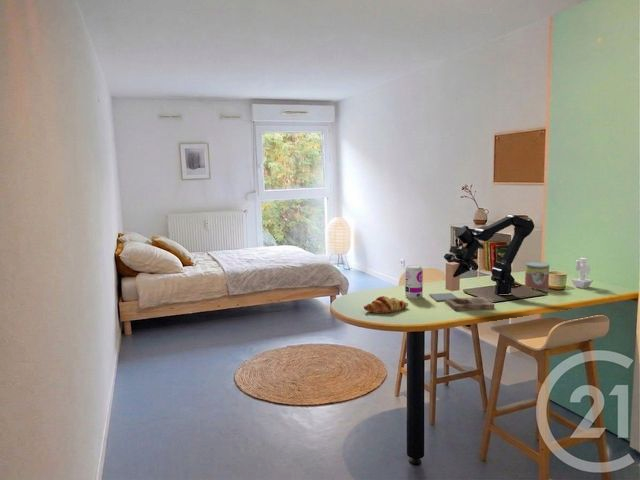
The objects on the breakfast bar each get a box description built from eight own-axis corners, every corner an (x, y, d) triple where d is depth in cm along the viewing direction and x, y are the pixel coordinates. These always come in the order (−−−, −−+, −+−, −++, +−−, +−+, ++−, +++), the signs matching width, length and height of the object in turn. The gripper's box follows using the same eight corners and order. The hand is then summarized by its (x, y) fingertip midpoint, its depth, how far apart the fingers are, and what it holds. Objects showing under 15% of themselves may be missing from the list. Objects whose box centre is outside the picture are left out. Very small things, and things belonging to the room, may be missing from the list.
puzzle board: (482, 301, 229) (482, 296, 229) (494, 308, 217) (494, 304, 216) (444, 302, 227) (445, 298, 227) (454, 310, 215) (454, 306, 215)
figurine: (594, 287, 250) (596, 258, 248) (582, 289, 246) (584, 260, 244) (581, 284, 256) (582, 256, 254) (569, 286, 252) (570, 257, 250)
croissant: (404, 313, 224) (401, 296, 227) (414, 308, 215) (410, 291, 218) (361, 318, 218) (358, 300, 220) (370, 313, 209) (366, 295, 211)
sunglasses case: (524, 285, 255) (518, 275, 254) (513, 293, 255) (507, 283, 253) (504, 278, 273) (499, 268, 271) (494, 285, 272) (488, 275, 270)
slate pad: (450, 294, 242) (450, 292, 242) (459, 300, 231) (459, 298, 231) (429, 295, 241) (429, 293, 241) (436, 301, 230) (436, 299, 230)
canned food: (526, 289, 249) (527, 266, 247) (523, 284, 260) (523, 261, 258) (550, 290, 246) (551, 266, 245) (546, 284, 257) (547, 262, 255)
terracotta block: (453, 287, 232) (453, 262, 230) (459, 290, 228) (459, 263, 226) (445, 289, 230) (445, 263, 228) (451, 291, 226) (452, 264, 224)
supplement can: (425, 296, 239) (425, 266, 237) (416, 300, 234) (416, 269, 231) (411, 293, 245) (411, 264, 243) (402, 297, 239) (402, 267, 237)
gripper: (447, 236, 235) (427, 261, 232) (474, 241, 218) (453, 268, 216) (459, 251, 240) (441, 276, 237) (487, 257, 223) (467, 284, 220)
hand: (450, 275), depth 227 cm, fingers closed on terracotta block, 4 cm apart
